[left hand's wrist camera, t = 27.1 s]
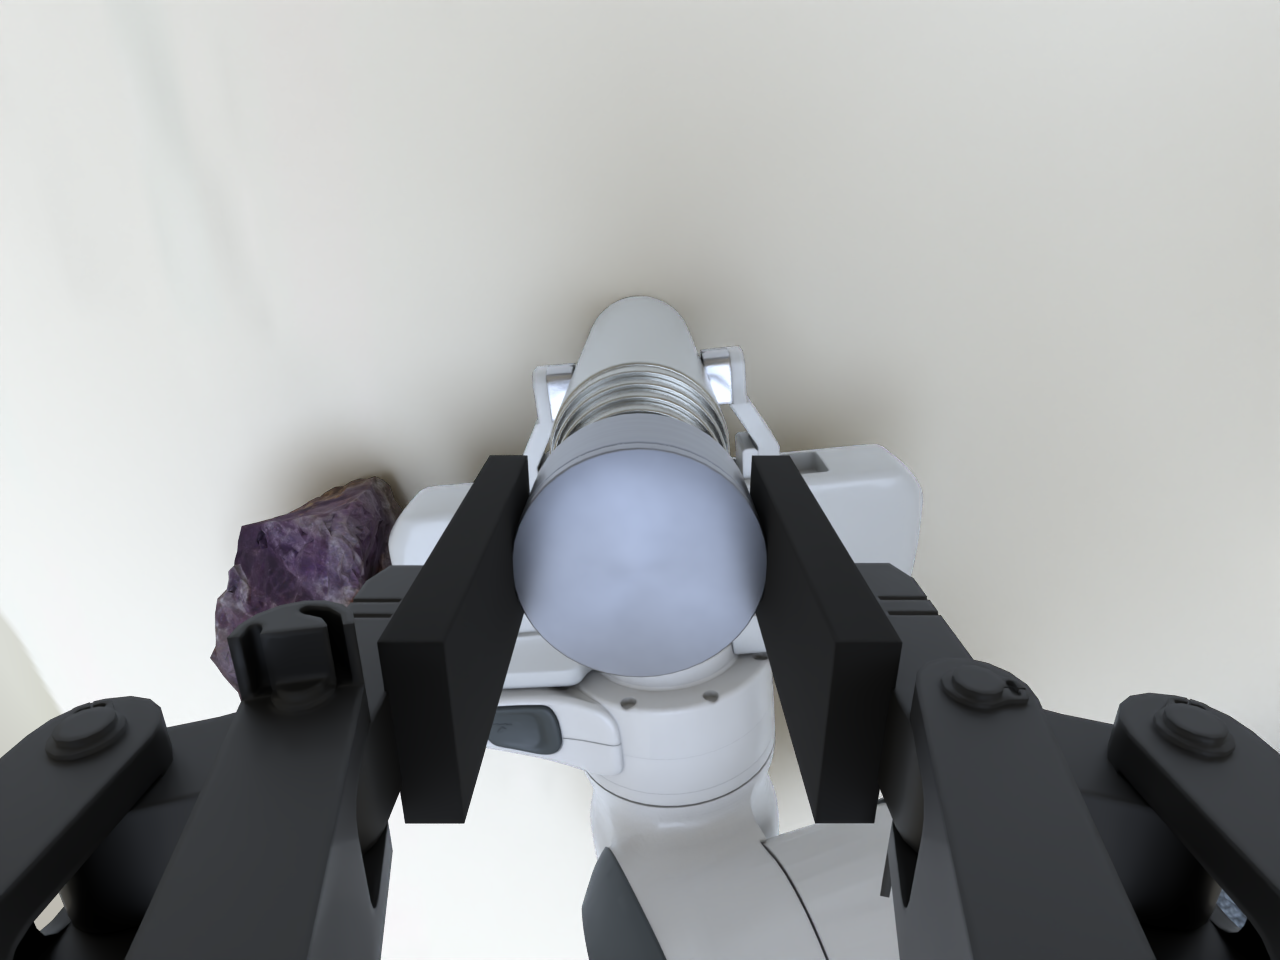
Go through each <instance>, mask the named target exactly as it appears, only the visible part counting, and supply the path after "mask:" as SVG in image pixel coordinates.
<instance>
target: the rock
mask: <svg viewBox="0 0 1280 960" xmlns="http://www.w3.org/2000/svg"><path fill="white" fill-rule="evenodd" d="M401 513H402V510H401V508H400V506H399V505H398V503H397V502H396V501H395V499H394V497H393V493H392V491H391V488H390V486H389V485H388V484H387V483H386V482H385V481H384V480H382V479H380V478H377V477H372V478H369V479H357V480H354V481H351V482H350V483H348V484H347V485H345V486H343V487H334V488H332V489H331V490H329V491H327V492H325V493H324V494H323V495H322V496H321V497H318V498H315V499H313V500H311V501H309V502H308V503H306V504H305V505H303V506H302V507H300V508H298V509H296V510H294V511H292V512H290V513H288V514H286V515H282V516H278V517H275V518H272V519H268V520H264V521H261V522H257V523H253V524H248V525H244V526H242V527H241V531H240V536H239V540H238V550H237V554H236V558H235V563H234V566H233V567H232V568H231V569H230V570H229V581H228V586H227V590H226V591H225V592H224V593H223V594H222V595H221V596H220V597H219V598H218V599H217V605H216V611H215V630H216V647H215V649H214V651H213V653H212V655H211V657H210V658H211V660H212V661H213V662H214V663H215V664H216V666H217V667H218V669H219V670H220V672H221V673H222V675H223V676H224V677H225V678H226V679H227V681H228V682H229V683H230V684H231V685H232V686H233V687H234V688H235V690H236V691H237V692H238V693H239V696H240V699H241V694H240V690H239V686H238V682H237V678H236V674H235V670H234V666H233V662H232V658H231V654H230V650H229V645H228V641H227V637H228V636H229V635H230V634H231V633H232V632H233V631H234V629H235V628H236V627H237V626H238V625H239V624H241V623H243V622H244V621H246V620H248V619H249V618H251V617H253V616H254V615H256V614H258V613H261V612H263V611H266V610H269V609H271V608H274V607H277V606H280V605H284V604H289V603H294V602H300V601H314V600H326V601H331V602H335V603H339V604H343V605H344V606H346V607H347V606H348V605H349V604H350V602H353V598H354V597H355V596H356V594H357V593H358V591H359V590H360V589H361V587H362V586H363V585H364V583H365V582H366V581H367V580H368V579H370V578H371V577H373V576H375V575H376V574H378V573H379V572H381V571H382V570H384V569H385V568H387V567H388V566H390V565H392V563H391V558H390V553H389V545H388V543H389V536H390V533H391V530H392V528H393V526H394V524H395V522H396V520H397V519H398V517H399V516H400V514H401ZM241 701H242V699H241Z"/></svg>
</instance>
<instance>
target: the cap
mask: <svg viewBox="0 0 1280 960" xmlns="http://www.w3.org/2000/svg"><path fill="white" fill-rule="evenodd" d="M767 552H768V550H767V542H766V537H765V534H764V531H763V528H762V525H761V522H760V519H759V517H758V514H757V511H756V509H755V506H754V504H753V501H752V498H751V496H750V493H749V491H748V488H747V485H746V483H745V480H744V478H743V476H742V474H741V472H740V470H739V468H738V466H737V465H736V463H735V462H734V460H733V459H732V457H731V456H730V455H729V454H728V453H727V451H726V450H725V449H724V448H723V447H722V446H721V445H720V444H719V443H718V442H716V441H715V440H714V439H713V438H712V437H711V436H709V435H708V434H706V433H705V432H703V431H701V430H700V429H698V428H697V427H695V426H692V425H690V424H688V423H686V422H684V421H681V420H678V419H674V418H671V417H668V416H662V415H657V414H644V413H634V414H622V415H617V416H613V417H608V418H605V419H602V420H599V421H596V422H593V423H591V424H589V425H587V426H585V427H583V428H581V429H579V430H578V431H576V432H575V433H573V434H572V435H570V436H569V437H568V438H566V439H565V440H564V441H563V442H562V443H561V444H560V445H559V446H557V447H556V449H555V450H554V451H553V452H552V453H551V454H550V456H549V457H548V458H547V460H546V461H545V463H544V464H543V466H542V467H541V469H540V471H539V473H538V475H537V477H536V480H535V482H534V484H533V487H532V489H531V492H530V495H529V497H528V500H527V502H526V505H525V508H524V510H523V513H522V515H521V518H520V521H519V523H518V526H517V529H516V532H515V536H514V539H513V545H512V560H513V574H514V587H515V592H516V595H517V598H518V601H519V603H520V605H521V607H522V609H523V611H524V614H525V615H526V617H527V618H528V620H529V621H530V623H531V624H532V626H533V627H534V628H535V630H536V631H537V632H538V633H539V634H540V635H541V636H542V638H543V639H544V640H546V641H547V642H548V643H549V644H550V645H551V646H552V647H553V648H555V649H556V650H557V651H559V652H560V653H562V654H563V655H565V656H566V657H568V658H569V659H571V660H573V661H575V662H577V663H579V664H581V665H583V666H586V667H588V668H591V669H593V670H596V671H600V672H604V673H607V674H612V675H618V676H625V677H654V676H661V675H667V674H673V673H676V672H679V671H683V670H686V669H689V668H691V667H694V666H696V665H698V664H701V663H703V662H705V661H706V660H708V659H710V658H712V657H713V656H715V655H717V654H718V653H719V652H721V651H722V650H723V649H725V648H726V647H727V646H729V645H730V644H731V643H732V642H733V641H734V640H735V639H736V638H737V637H738V636H739V635H740V634H741V633H742V631H743V630H744V629H745V628H746V626H747V625H748V624H749V622H750V621H751V619H752V617H753V616H754V614H755V613H756V611H757V609H758V606H759V604H760V602H761V600H762V597H763V594H764V590H765V581H766V567H767Z"/></svg>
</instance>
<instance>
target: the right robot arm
mask: <svg viewBox="0 0 1280 960" xmlns="http://www.w3.org/2000/svg"><path fill="white" fill-rule="evenodd" d="M700 359H701V361H702V364H703V366H704V369H705V371H706V374H707V376H708V379H709V381H710V384H711V386H712V389H713V391H714V393H715V396H716V398H717V401H718V403H719V404H729V405H730V407H731V408H732V410H733V411H734V413H735V414H736V416H737V417H738V419H739V420H740V421H741V423H742V424H743V426H744V427H745V429H746V430H747V432H738V433H737V434H736V435H735V443H736V457H732V459H733V460H734V462H735V463H736V465H737V466H738V468H739V470H740V472H741V474H742V476H743V478H744V480H745V483H746V485H747V488H748V491H749V493H750V478H751V462H752V455H790V457H791V459H792V460H793V462H794V464H795V465H796V467H797V469H798V470H799V472H800V473H801V475H802V477H803V478H804V480H805V482H806V483H807V485H808V487H809V488H810V490H811V492H812V493H813V495H814V497H815V498H816V500H817V502H818V503H819V505H820V507H821V508H822V510H823V512H824V513H825V515H826V516H827V518H828V520H829V521H830V523H831V525H832V526H833V528H834V530H835V531H836V533H837V535H838V536H839V538H840V540H841V541H842V543H843V545H844V546H845V548H846V550H847V551H848V553H849V555H850V556H851V558H852V560H853V561H854V563H890V564H892V565H893V566H895V567H897V568H898V569H900V570H901V571H903V572H904V573H906V574H907V575H909V576H911V574H912V570H913V565H914V561H915V555H916V550H917V544H918V538H919V531H920V523H921V514H922V502H923V495H922V489H921V486H920V484H919V482H918V480H917V479H916V477H915V476H914V475H913V473H912V472H911V471H910V470H909V469H908V468H907V466H906V465H905V464H904V463H903V462H902V461H900V460H899V459H898V458H897V457H896V456H894V455H893V454H892V453H891V452H889V451H888V450H887V449H886V448H884V447H883V446H881V445H878V444H863V445H854V446H843V447H833V448H823V449H812V450H802V451H792V452H781V453H780V445H779V443H778V442H777V440H776V438H775V437H774V435H773V433H772V432H771V430H770V428H769V427H768V425H767V424H766V422H765V421H764V419H763V418H762V416H761V415H760V413H759V412H758V411H757V409H756V408H755V406H754V405H753V403H752V402H751V400H750V399H749V397H748V396H747V394H746V375H745V360H744V354H743V350H742V349H741V348H740V346H731V347H721V348H713V349H704V350H700ZM575 368H576V364H575V363H569V364H557V365H545V366H538V367H536V368H535V370H534V371H533V389H534V396H535V402H536V408H537V414H538V419H537V421H536V423H535V426H534V428H533V431H532V433H531V436H530V438H529V441H528V443H527V446H526V448H525V450H524V453H523V455H528V470H529V486H530V492H531V489H532V487H533V484H534V482H535V480H536V477H537V475H538V473H539V471H540V469H541V467H542V466H543V464H544V463H545V461H546V460H547V458H548V457H549V451H547V452H546V453H545V452H544V451H545V448H546V446H547V443H548V441H549V439H550V436H551V431H552V427H553V423H554V420H555V417H556V415H557V412H558V410H559V408H560V405H561V403H562V400H563V398H564V395H565V393H566V390H567V388H568V385H569V383H570V380H571V378H572V375H573V373H574V370H575ZM473 483H474V482H472V483H462V484H451V485H441V486H431V487H427V488H424V489H422V490H421V491H419V492H418V493H417V494H416V496H415V497H414V498H413V499H412V500H411V501H410V502H409V504H408V505H407V506H406V507H405V508H404V510H403V511H402V513H401V514H400V516H399V517H398V519H397V520H396V522H395V524H394V526H393V528H392V530H391V533H390V536H389V543H388V545H389V553H390V558H391V563H392V565H424V564H425V562H426V560H427V559H428V557H429V555H430V554H431V552H432V550H433V549H434V547H435V545H436V544H437V542H438V540H439V539H440V537H441V536H442V534H443V532H444V531H445V529H446V527H447V526H448V524H449V522H450V521H451V519H452V517H453V516H454V514H455V512H456V511H457V509H458V507H459V506H460V504H461V502H462V501H463V499H464V497H465V496H466V494H467V493H468V491H469V489H470V488H471V486H472V484H473ZM486 748H489V749H495V750H501V751H507V752H512V753H518V754H523V755H528V756H533V757H538V758H542V759H546V760H551V761H555V762H558V763H562V764H566V765H569V766H572V767H575V768H578V769H581V770H584V772H585V774H586V776H587V778H588V779H589V781H590V783H591V784H592V786H593V789H594V791H593V796H592V801H591V812H590V819H591V828H592V835H593V841H594V846H595V851H596V856H597V863H596V865H595V867H594V870H593V873H592V876H591V879H590V882H589V885H588V888H587V891H586V895H585V898H584V901H583V905H582V919H583V928H584V935H585V941H586V947H587V952H588V956H589V960H900V958H899V949H898V940H897V931H896V922H895V913H894V904H893V895H892V886H891V891H890V896H889V898H888V897H883V896H880V892H881V885H882V879H883V873H884V867H885V861H886V855H887V849H888V843H889V837H890V831H891V825H892V817H891V814H890V812H889V809H888V807H887V805H886V802H885V800H884V797H883V798H881V799H878V803H877V810H876V816H875V822H874V823H816V824H813V825H810V826H807V827H803V828H800V829H797V830H794V831H791V832H787V833H784V834H781V835H779V811H778V803H777V796H776V792H775V788H774V786H773V783H772V780H771V778H770V776H769V774H768V769H769V767H770V764H771V761H772V757H773V753H774V748H775V716H774V693H773V676H772V670H771V666H770V663H769V659H768V656H767V652H766V649H765V645H764V642H763V638H762V635H761V631H760V628H759V624H758V621H757V617H756V614H754V616H753V617H752V619H751V621H750V622H749V624H748V625H747V626H746V628H745V629H744V630H743V631H742V633H741V634H740V635H739V636H738V637H737V638H736V639H735V640H734V641H733V642H732V643H731V644H730V645H729V646H727V647H726V648H725V649H723V650H722V651H721V652H719V653H718V654H717V655H715V656H713V657H712V658H710V659H708V660H706V661H705V662H703V663H701V664H698V665H696V666H694V667H691V668H689V669H686V670H683V671H679V672H676V673H673V674H667V675H661V676H654V677H625V676H618V675H612V674H607V673H604V672H600V671H596V670H593V669H591V668H588V667H586V666H583V665H581V664H579V663H577V662H575V661H573V660H571V659H569V658H568V657H566V656H565V655H563V654H562V653H560V652H559V651H557V650H556V649H555V648H553V647H552V646H551V645H550V644H549V643H548V642H547V641H546V640H544V639H543V638H542V636H541V635H540V634H539V633H538V632H537V631H536V630H535V628H534V627H533V626H532V624H531V623H530V621H529V620H528V618H527V617H526V615H525V614H524V615H523V619H522V622H521V626H520V629H519V633H518V637H517V640H516V644H515V647H514V651H513V654H512V658H511V661H510V665H509V668H508V672H507V675H506V679H505V682H504V686H503V689H502V693H501V696H500V700H499V703H498V707H497V710H496V714H495V717H494V721H493V724H492V728H491V731H490V735H489V738H488V742H487V745H486Z"/></svg>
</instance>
